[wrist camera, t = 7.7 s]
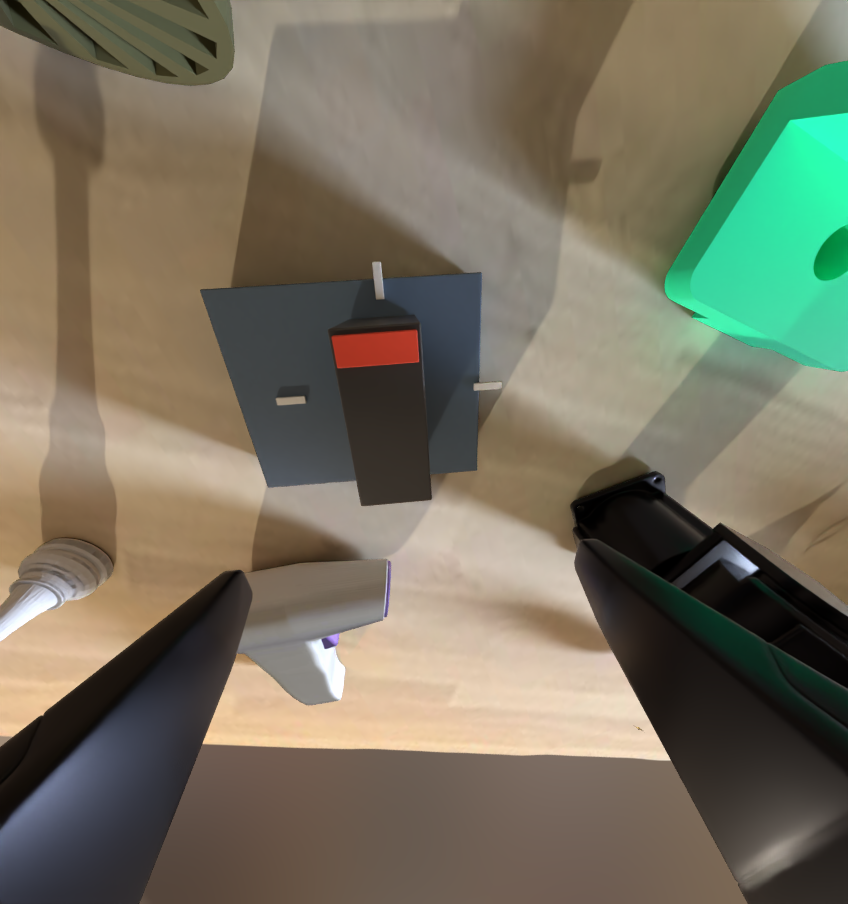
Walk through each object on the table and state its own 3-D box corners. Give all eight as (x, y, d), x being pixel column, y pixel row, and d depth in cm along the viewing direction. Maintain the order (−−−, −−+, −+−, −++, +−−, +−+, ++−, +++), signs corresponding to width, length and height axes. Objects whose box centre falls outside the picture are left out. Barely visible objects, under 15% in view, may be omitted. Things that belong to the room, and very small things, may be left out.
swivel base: (492, 260, 15) (509, 253, 13) (485, 458, 20) (496, 479, 18) (224, 276, 15) (190, 272, 12) (285, 474, 20) (269, 498, 18)
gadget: (424, 452, 17) (432, 504, 13) (370, 457, 17) (360, 510, 13) (415, 314, 14) (421, 322, 10) (348, 319, 14) (324, 329, 10)
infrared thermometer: (304, 663, 31) (230, 566, 23) (423, 642, 30) (388, 537, 23) (291, 721, 27) (196, 628, 19) (428, 697, 27) (387, 593, 19)
